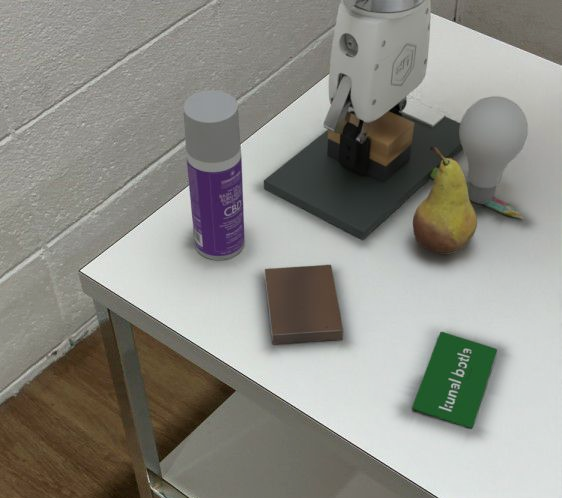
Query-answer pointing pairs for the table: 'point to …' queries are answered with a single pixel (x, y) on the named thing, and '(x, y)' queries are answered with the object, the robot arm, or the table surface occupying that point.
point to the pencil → (492, 202)
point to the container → (215, 173)
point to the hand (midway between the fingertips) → (368, 153)
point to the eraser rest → (303, 304)
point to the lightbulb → (491, 143)
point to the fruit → (445, 211)
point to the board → (361, 179)
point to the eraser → (382, 144)
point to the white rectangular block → (422, 113)
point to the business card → (455, 380)
